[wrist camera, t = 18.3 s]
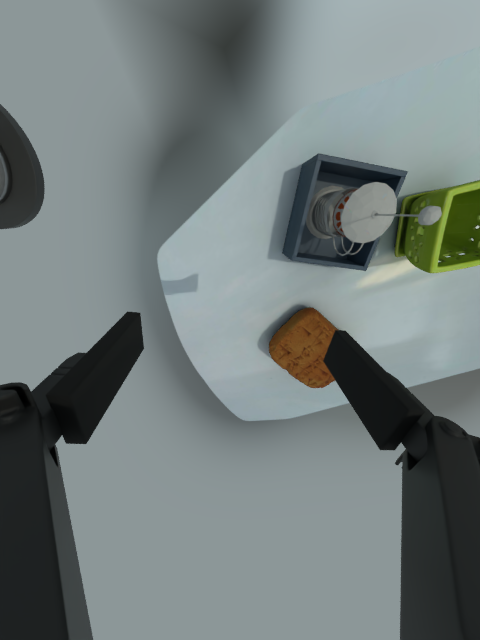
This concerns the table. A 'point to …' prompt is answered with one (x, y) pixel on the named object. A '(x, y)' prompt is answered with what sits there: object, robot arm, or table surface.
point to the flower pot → (442, 229)
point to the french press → (358, 213)
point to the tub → (311, 181)
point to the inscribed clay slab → (304, 347)
